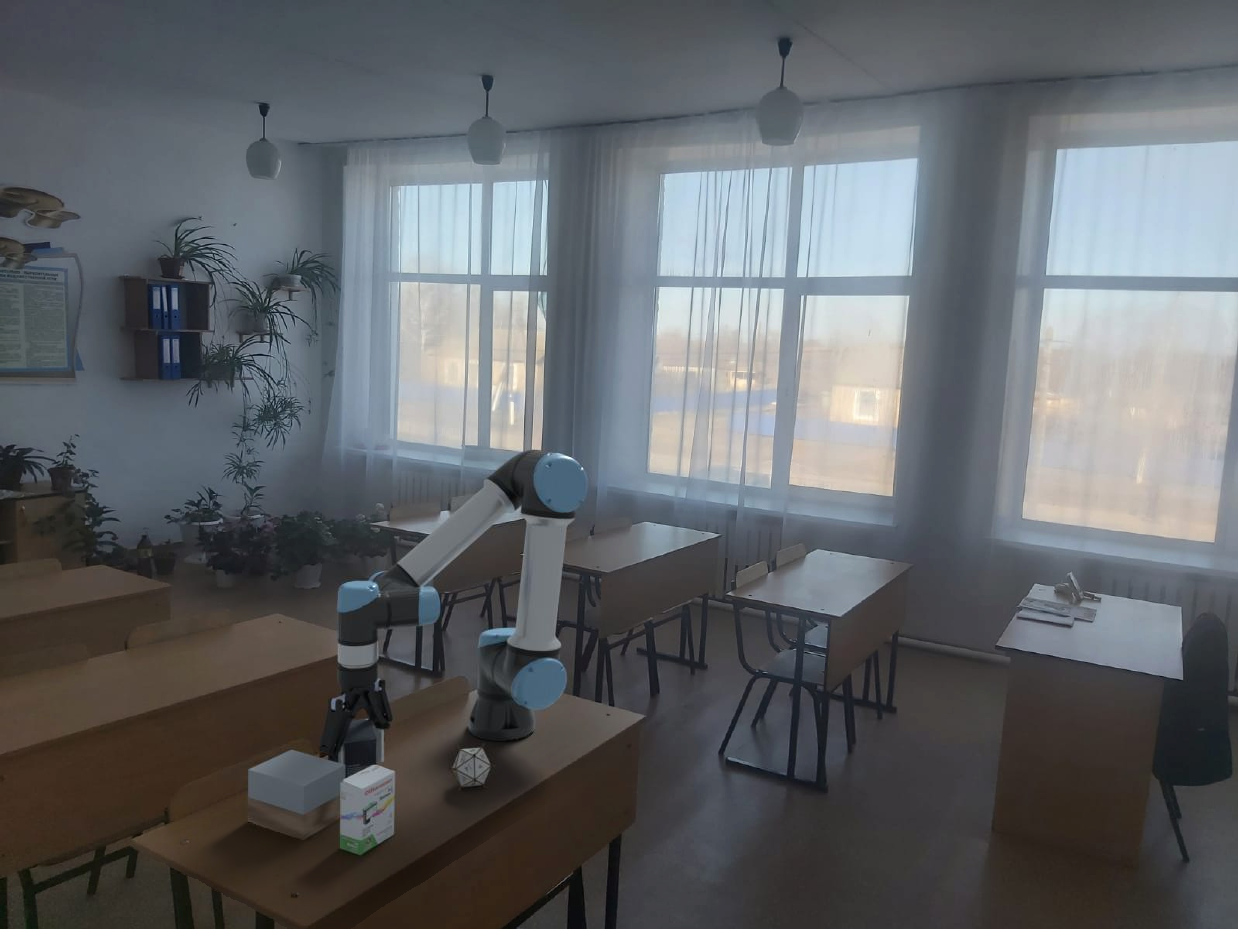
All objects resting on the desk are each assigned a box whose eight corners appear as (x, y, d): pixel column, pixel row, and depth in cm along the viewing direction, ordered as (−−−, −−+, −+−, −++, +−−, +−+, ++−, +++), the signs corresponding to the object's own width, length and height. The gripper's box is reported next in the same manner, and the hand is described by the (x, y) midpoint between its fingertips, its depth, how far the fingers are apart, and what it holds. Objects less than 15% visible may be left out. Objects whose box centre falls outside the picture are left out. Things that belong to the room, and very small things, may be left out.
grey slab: (291, 775, 166) (291, 749, 166) (345, 791, 161) (345, 765, 160) (248, 797, 157) (248, 769, 157) (303, 814, 152) (303, 786, 151)
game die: (476, 808, 174) (482, 782, 168) (438, 788, 175) (443, 762, 169) (498, 771, 181) (505, 745, 174) (461, 752, 182) (467, 725, 176)
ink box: (360, 856, 148) (361, 788, 147) (338, 848, 150) (339, 781, 149) (395, 834, 156) (396, 769, 155) (373, 827, 158) (374, 763, 157)
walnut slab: (289, 801, 167) (290, 775, 166) (344, 817, 162) (344, 790, 161) (247, 824, 158) (247, 796, 157) (303, 842, 153) (304, 814, 152)
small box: (337, 771, 178) (337, 720, 177) (371, 767, 180) (371, 716, 179) (342, 795, 168) (342, 741, 167) (378, 790, 170) (378, 737, 169)
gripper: (381, 643, 184) (381, 746, 186) (298, 677, 163) (298, 792, 165) (411, 649, 181) (410, 753, 183) (330, 684, 160) (330, 801, 162)
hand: (357, 772), depth 174 cm, fingers closed on small box, 11 cm apart
